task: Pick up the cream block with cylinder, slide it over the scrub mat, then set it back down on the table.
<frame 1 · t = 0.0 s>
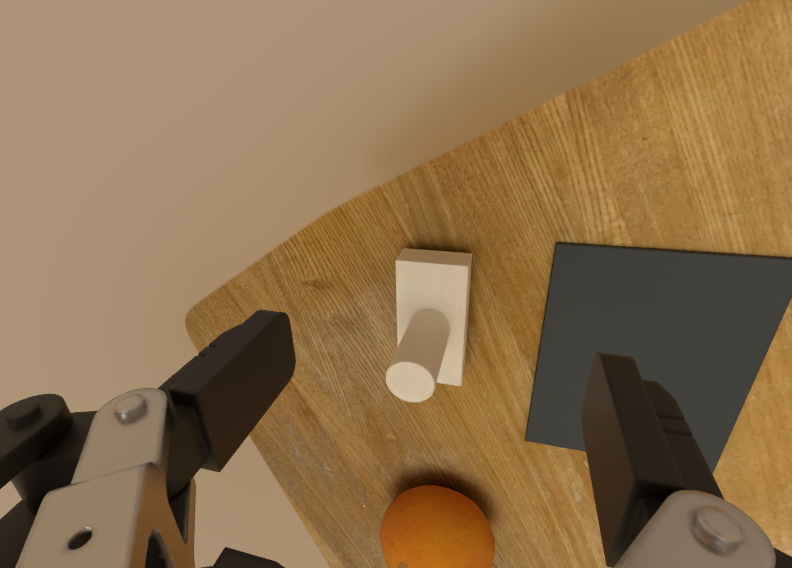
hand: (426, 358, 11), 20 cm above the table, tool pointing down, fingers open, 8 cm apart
cream block with cylinder: (437, 306, 33), on the table
scrub mat: (639, 364, 30), on the table
fruit: (442, 502, 43), on the table
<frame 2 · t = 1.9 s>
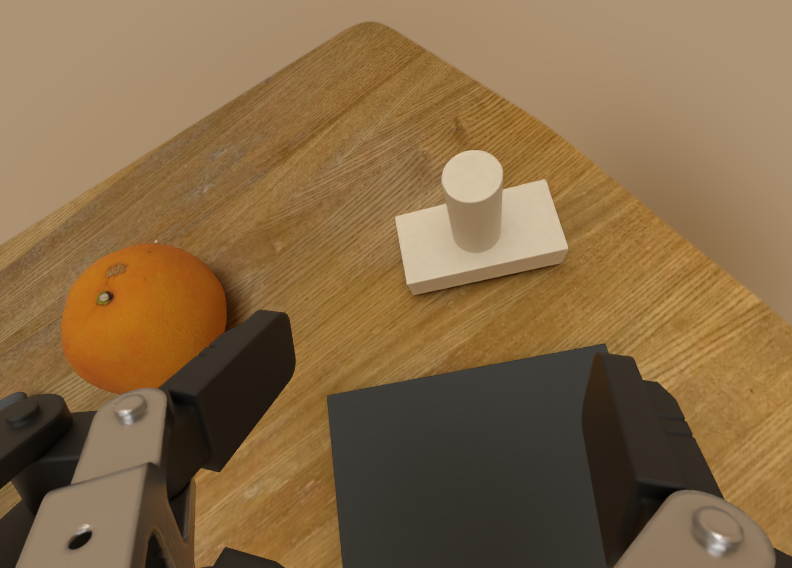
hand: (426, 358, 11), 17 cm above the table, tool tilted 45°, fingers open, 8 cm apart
cream block with cylinder: (478, 250, 29), on the table
scrub mat: (483, 490, 24), on the table
fruit: (189, 329, 33), on the table
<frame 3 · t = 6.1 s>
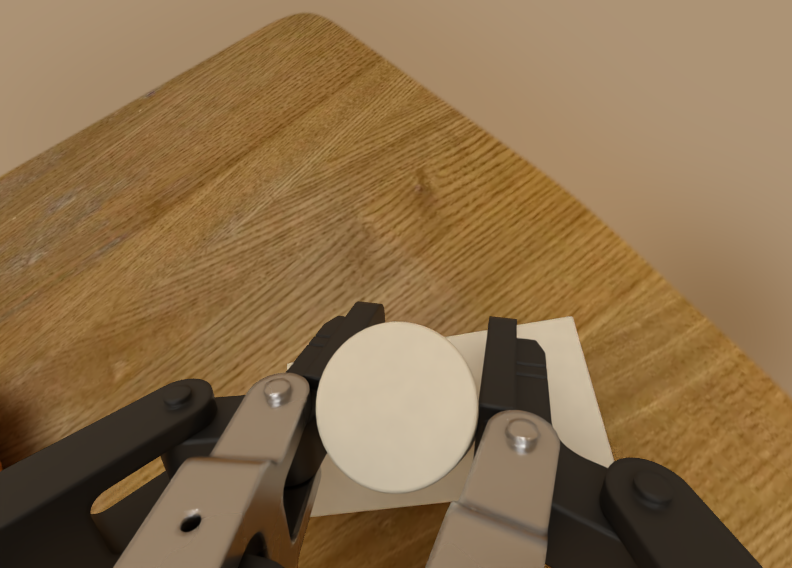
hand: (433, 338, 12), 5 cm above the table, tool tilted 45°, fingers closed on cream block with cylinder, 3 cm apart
cream block with cylinder: (442, 419, 16), on the table, touching gripper
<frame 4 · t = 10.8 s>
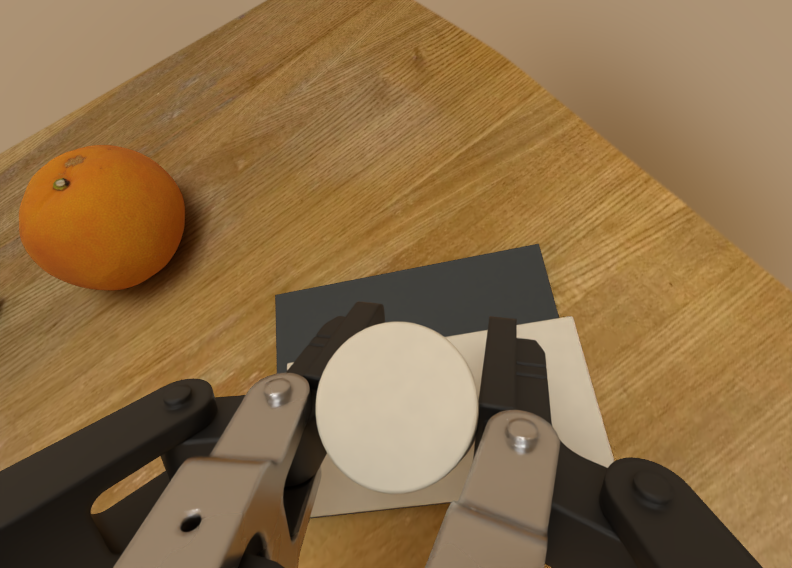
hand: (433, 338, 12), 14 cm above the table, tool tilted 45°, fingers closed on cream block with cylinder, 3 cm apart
cream block with cylinder: (442, 419, 16), point 9 cm above the table, touching gripper
scrub mat: (416, 376, 26), on the table
fruit: (150, 240, 34), on the table
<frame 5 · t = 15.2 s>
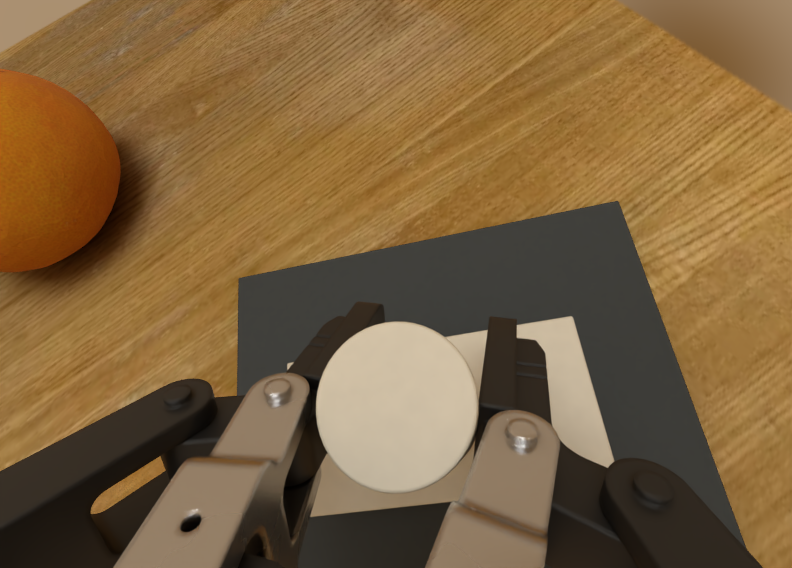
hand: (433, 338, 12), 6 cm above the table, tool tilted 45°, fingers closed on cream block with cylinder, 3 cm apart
cream block with cylinder: (442, 419, 16), point 1 cm above the table, touching gripper
scrub mat: (440, 396, 17), on the table
fruit: (79, 209, 25), on the table
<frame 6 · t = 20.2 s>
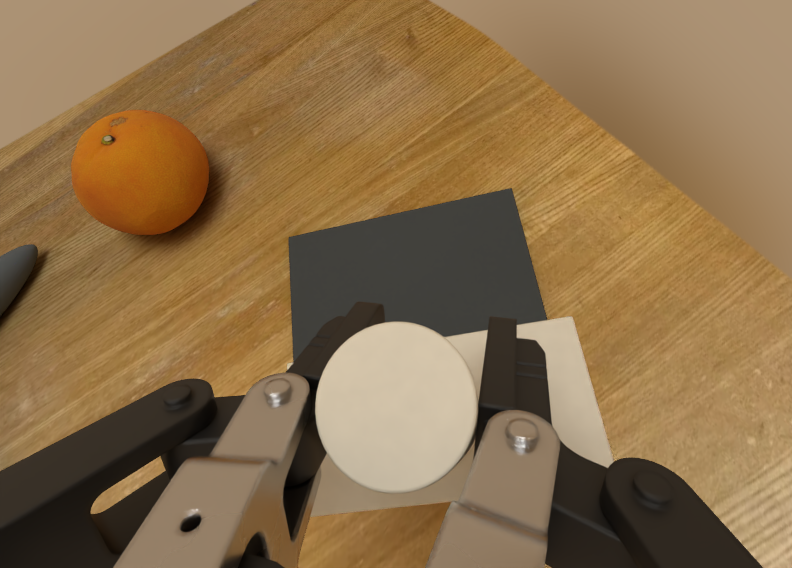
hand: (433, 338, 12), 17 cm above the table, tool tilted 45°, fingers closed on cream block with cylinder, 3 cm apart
cream block with cylinder: (442, 419, 16), point 12 cm above the table, touching gripper
scrub mat: (408, 298, 30), on the table
fruit: (177, 197, 38), on the table
when the fingers open (5 cm above the table, at t = 24.5 s): cream block with cylinder stays where it is, on the table.
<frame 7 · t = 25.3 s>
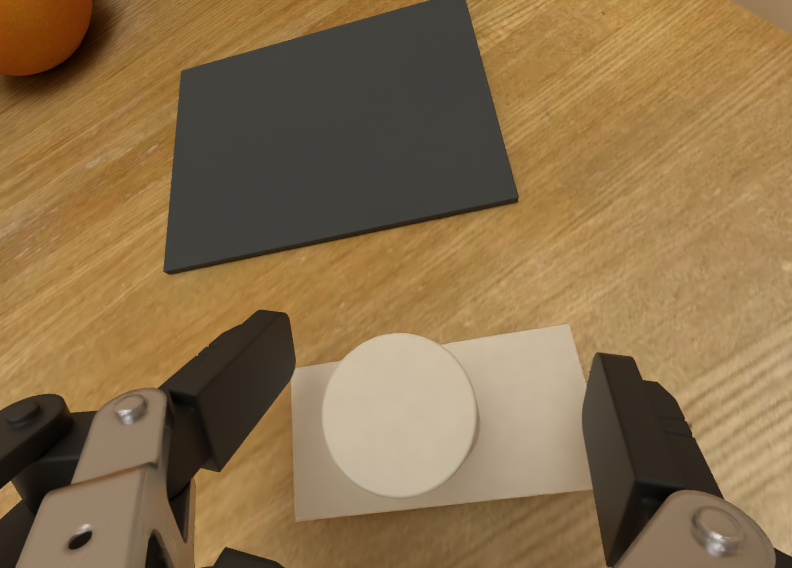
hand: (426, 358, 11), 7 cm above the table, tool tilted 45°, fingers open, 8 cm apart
cream block with cylinder: (442, 423, 17), on the table
scrub mat: (324, 128, 23), on the table
fruit: (60, 45, 31), on the table
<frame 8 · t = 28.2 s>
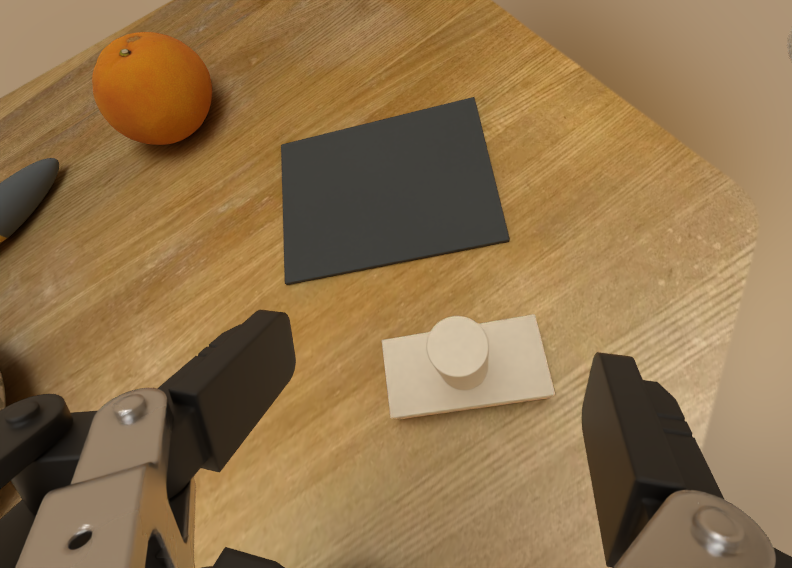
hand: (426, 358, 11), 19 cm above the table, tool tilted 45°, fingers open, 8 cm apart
cream block with cylinder: (465, 372, 29), on the table
scrub mat: (383, 189, 35), on the table
paintbrush: (1, 241, 42), on the table
fruit: (183, 118, 43), on the table
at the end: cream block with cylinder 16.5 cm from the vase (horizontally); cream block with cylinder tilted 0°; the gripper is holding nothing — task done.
